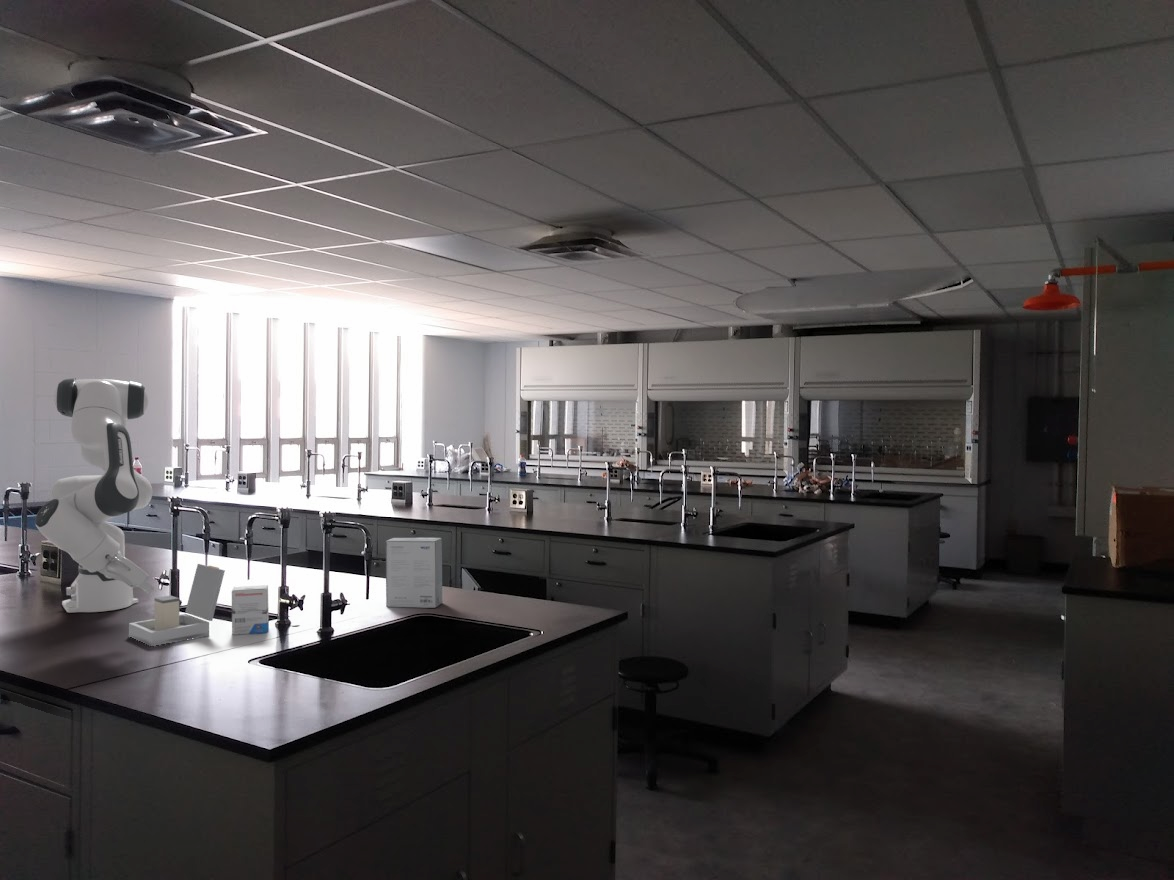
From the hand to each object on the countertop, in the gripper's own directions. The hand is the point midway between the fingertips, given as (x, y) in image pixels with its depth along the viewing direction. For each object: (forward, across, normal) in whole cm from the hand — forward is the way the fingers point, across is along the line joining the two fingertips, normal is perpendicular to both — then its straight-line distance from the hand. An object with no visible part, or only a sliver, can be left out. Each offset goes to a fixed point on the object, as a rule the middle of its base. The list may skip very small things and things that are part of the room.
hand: (143, 587), depth 205 cm
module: (+12, 0, +4) cm, 13 cm away
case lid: (+13, 0, -8) cm, 15 cm away
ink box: (+25, -11, -6) cm, 28 cm away
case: (+14, 0, +5) cm, 15 cm away
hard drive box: (+59, -18, -40) cm, 73 cm away
